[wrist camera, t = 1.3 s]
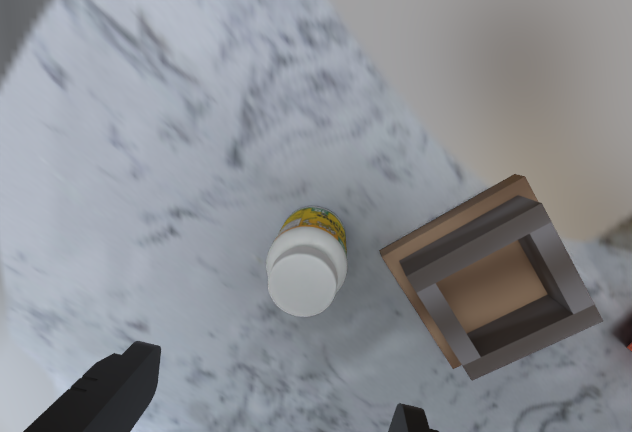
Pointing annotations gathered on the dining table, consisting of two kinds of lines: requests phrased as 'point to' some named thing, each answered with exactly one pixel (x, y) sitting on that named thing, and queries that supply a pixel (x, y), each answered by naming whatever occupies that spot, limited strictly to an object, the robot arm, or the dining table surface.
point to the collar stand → (492, 279)
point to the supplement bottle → (307, 262)
